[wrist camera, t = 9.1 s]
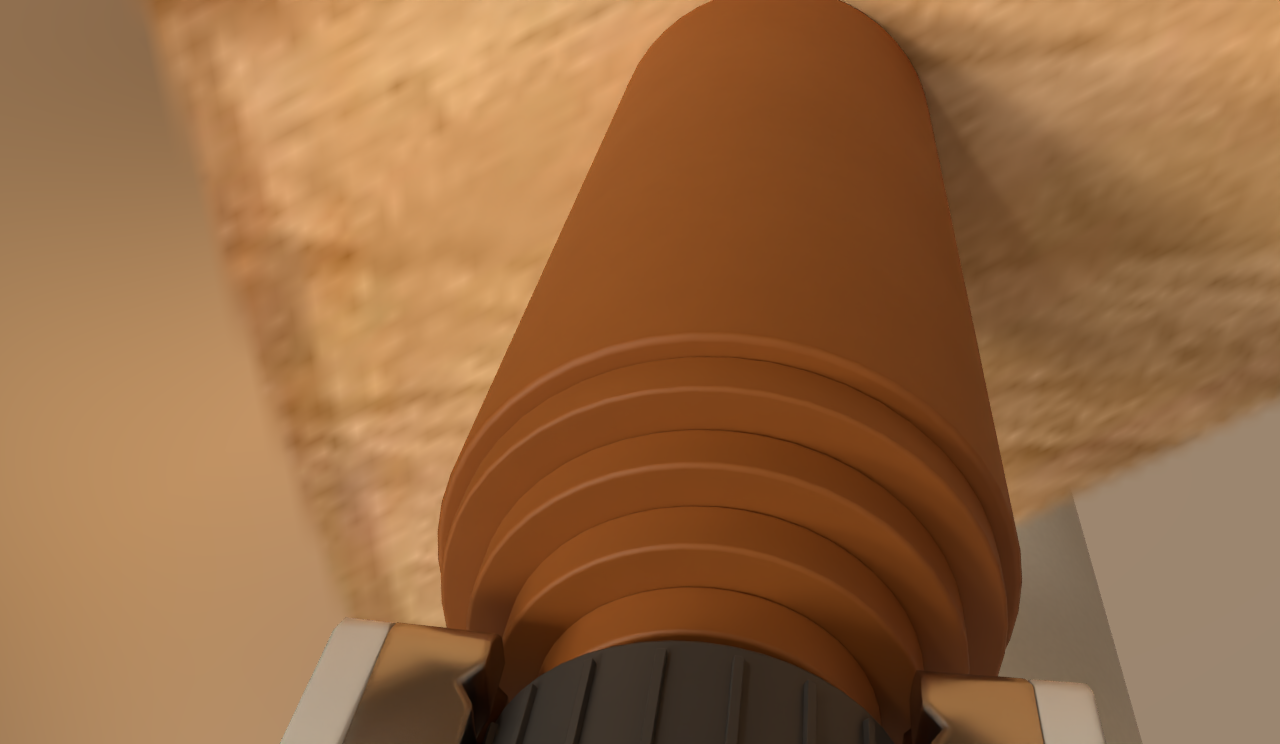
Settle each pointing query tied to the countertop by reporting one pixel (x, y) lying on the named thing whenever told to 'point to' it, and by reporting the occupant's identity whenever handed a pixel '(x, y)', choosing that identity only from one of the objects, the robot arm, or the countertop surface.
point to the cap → (682, 701)
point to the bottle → (747, 383)
